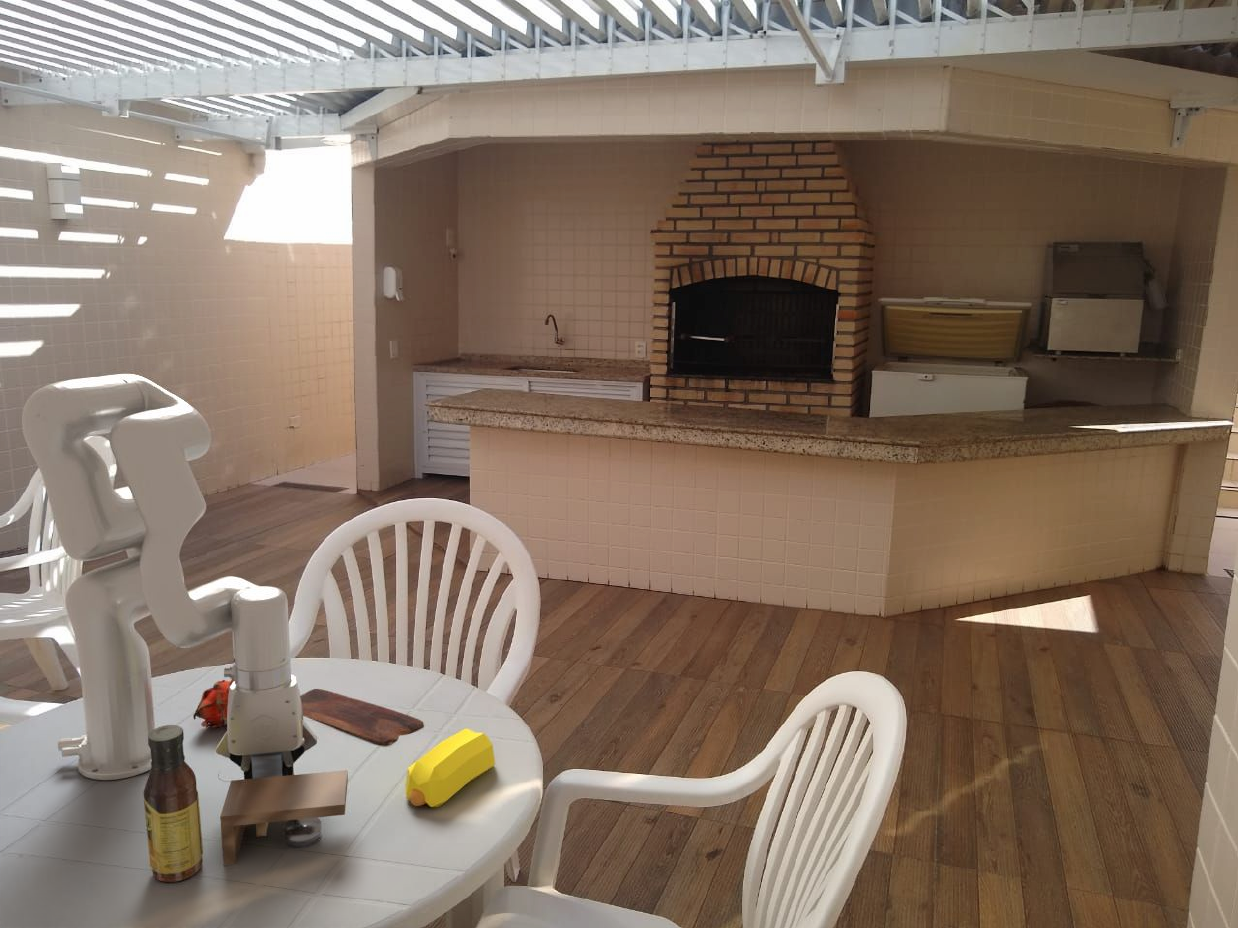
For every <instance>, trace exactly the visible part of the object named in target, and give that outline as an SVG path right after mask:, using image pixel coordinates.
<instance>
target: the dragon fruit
mask: <svg viewBox="0 0 1238 928" xmlns="http://www.w3.org/2000/svg"><path fill="white" fill-rule="evenodd" d="M233 682H234V680H233V678H231V680H229V681H228V680H226V679H222V680H219V681H216V682H215V683H214V684H213V685H212V687H211V688H208V689H205V690H204V691H203V693H202V695H201V698H200V702H199V703H198V705H197V707H196V709H195V713H193V720H194V721H195V720H196V717H197V718H198V719H200V720H201V719H203V720H204V721H202V722H201V723H200V724H201V727H203V728H211V729H212V728H219V727H222V726H226V725H227V711H228V697H229V690H230V686H231V685H232V683H233Z"/></svg>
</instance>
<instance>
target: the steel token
mask: <svg viewBox="0 0 1238 928" xmlns="http://www.w3.org/2000/svg"><path fill="white" fill-rule="evenodd" d="M282 837H283V838H282V840H283V844H284V845H285V846H286V847H288V848H290V849H305V848H309V847H311V846H314V845H315V844H316V843H318V842H319V841H320V840H321V838H322V821H321V819H320V817H317V818H307V819H297V820H287V821H286V822H285V823H283V826H282ZM319 839H320V840H319Z"/></svg>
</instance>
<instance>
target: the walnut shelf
mask: <svg viewBox="0 0 1238 928" xmlns="http://www.w3.org/2000/svg"><path fill="white" fill-rule="evenodd" d="M348 773H349V772H348V770H347V769H346V770H335V771H322V772H311V773H301V774H294V775H288V776H277V777H266V778H255V779H244V778H243V779H235V780H231V781H230V784H229V785H228V790H227V794H226V797H225V801H224V803H223V806H222V810H221V813H220V815H219V817H220V819H219V820H220V834H221V835H220V837H221V849H222V864H223V866H226V865H225V864H228V865H235V864H234V863H236V864H237V860H236V859H238V856H239V852H238V851H240V849H241V845H240V844H242V841H243V837H242V835H243V836H244V833H243V832H245V829H244V828H246V825H256V824H257V823H267V822H269V823H276V822H285V821H286V822H287V821H288V820H297V819H307V818H325V817H326V818H327V817H335V816H345V815H346V805H347V804H346V803H347V794H348V782H349V779H348V778H349V777H348ZM241 840H242V841H241ZM239 848H240V849H239Z"/></svg>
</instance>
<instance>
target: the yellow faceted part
mask: <svg viewBox="0 0 1238 928" xmlns="http://www.w3.org/2000/svg"><path fill="white" fill-rule="evenodd" d="M495 765H496V759H495V753H494V747H493V743H492V741H491V739H490V738H489V737H488V736H487V735H486V734H485V733H484V732H476V731H473V730H472V729H469V728H468V727H466V728H463V729H462V730H460V731H459V732H457V733H455V734H453V735H451V736H448V737H447V738H445V739H444V740H442V741H441V742H439V743H438V744H436V746H434V747H433V748H432V749H430V750H428V752H427V753H425V754H424V755H422V756H421V757H420V758H419V759H417V760H416V761H415V762H414V763H412V764H411V765H410V766H408V767H407V773H406V780H405V798H406V799H409V801H410V803H411V804H412V805H413V806H415V807H420V806H424V805H425V804H427V805H428V806H429V807H430V808H438V807H441V806H442V805H443V804H444V803H445V802H447V801H448V800H449V799H451V797H453V796H454V795H455V794H456V793H458V791H460V790H461V789H462V788H463V787H464V786H465V785H466V784H468V783H470V782H471V781H473V780H474V779H477V778H478V777H479V776H481V775H483V774H484V773H486V772H487V771H489V770H490V769H491V768H493V767H494V766H495ZM488 769H489V770H488ZM485 771H486V772H485Z"/></svg>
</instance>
